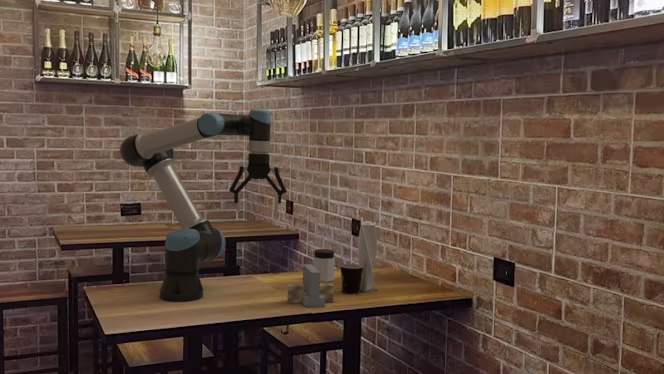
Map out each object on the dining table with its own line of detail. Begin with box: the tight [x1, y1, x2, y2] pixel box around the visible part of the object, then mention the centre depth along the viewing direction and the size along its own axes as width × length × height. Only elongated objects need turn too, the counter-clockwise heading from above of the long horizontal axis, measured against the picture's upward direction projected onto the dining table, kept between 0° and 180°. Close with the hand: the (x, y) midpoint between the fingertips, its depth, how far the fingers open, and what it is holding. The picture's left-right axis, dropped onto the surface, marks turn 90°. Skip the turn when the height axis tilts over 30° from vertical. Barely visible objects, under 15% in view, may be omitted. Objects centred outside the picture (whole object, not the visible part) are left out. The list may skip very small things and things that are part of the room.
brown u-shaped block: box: [287, 283, 335, 304], centre depth 228 cm, size 16×3×6 cm, turn 105°
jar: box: [312, 248, 336, 283], centre depth 264 cm, size 9×8×12 cm
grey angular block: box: [302, 263, 326, 308], centre depth 228 cm, size 14×7×12 cm, turn 15°
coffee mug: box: [340, 263, 363, 295], centre depth 246 cm, size 12×9×10 cm
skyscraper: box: [357, 216, 379, 293], centre depth 250 cm, size 8×8×28 cm
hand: (257, 212), depth 230 cm, fingers open, 13 cm apart
